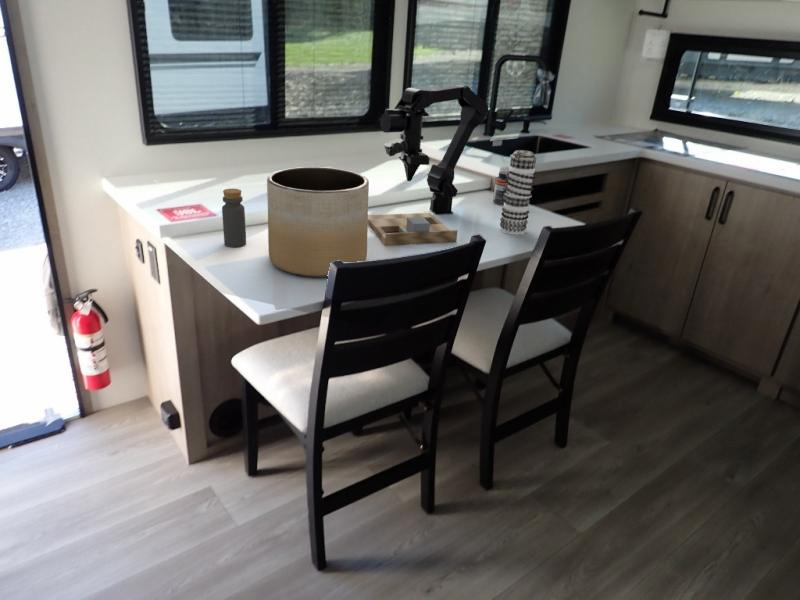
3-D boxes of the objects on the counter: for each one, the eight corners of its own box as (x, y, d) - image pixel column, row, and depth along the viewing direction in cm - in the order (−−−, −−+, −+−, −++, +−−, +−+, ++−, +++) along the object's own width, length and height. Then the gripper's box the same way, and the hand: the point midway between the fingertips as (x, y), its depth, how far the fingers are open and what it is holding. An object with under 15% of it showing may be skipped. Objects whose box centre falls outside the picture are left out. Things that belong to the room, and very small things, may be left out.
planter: (299, 238, 169) (298, 162, 160) (380, 254, 162) (384, 175, 152) (249, 268, 147) (245, 181, 138) (341, 288, 140) (343, 198, 131)
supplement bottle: (500, 199, 221) (504, 169, 216) (512, 203, 217) (516, 173, 212) (489, 201, 217) (493, 171, 212) (501, 206, 213) (505, 175, 208)
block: (421, 229, 177) (423, 216, 175) (428, 236, 172) (430, 223, 170) (406, 230, 175) (407, 217, 174) (412, 237, 170) (413, 224, 169)
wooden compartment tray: (429, 218, 194) (430, 208, 192) (456, 242, 175) (457, 230, 173) (365, 221, 187) (365, 210, 186) (385, 246, 168) (386, 234, 166)
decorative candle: (531, 235, 185) (544, 155, 174) (503, 235, 183) (514, 154, 173) (521, 226, 193) (533, 149, 182) (494, 225, 192) (505, 148, 181)
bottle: (226, 240, 164) (223, 187, 158) (248, 240, 165) (245, 188, 158) (222, 247, 159) (218, 193, 153) (244, 248, 160) (241, 194, 153)
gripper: (379, 125, 188) (376, 174, 195) (396, 136, 172) (393, 189, 179) (411, 126, 191) (408, 173, 198) (432, 137, 176) (427, 188, 182)
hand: (408, 180), depth 189 cm, fingers closed
